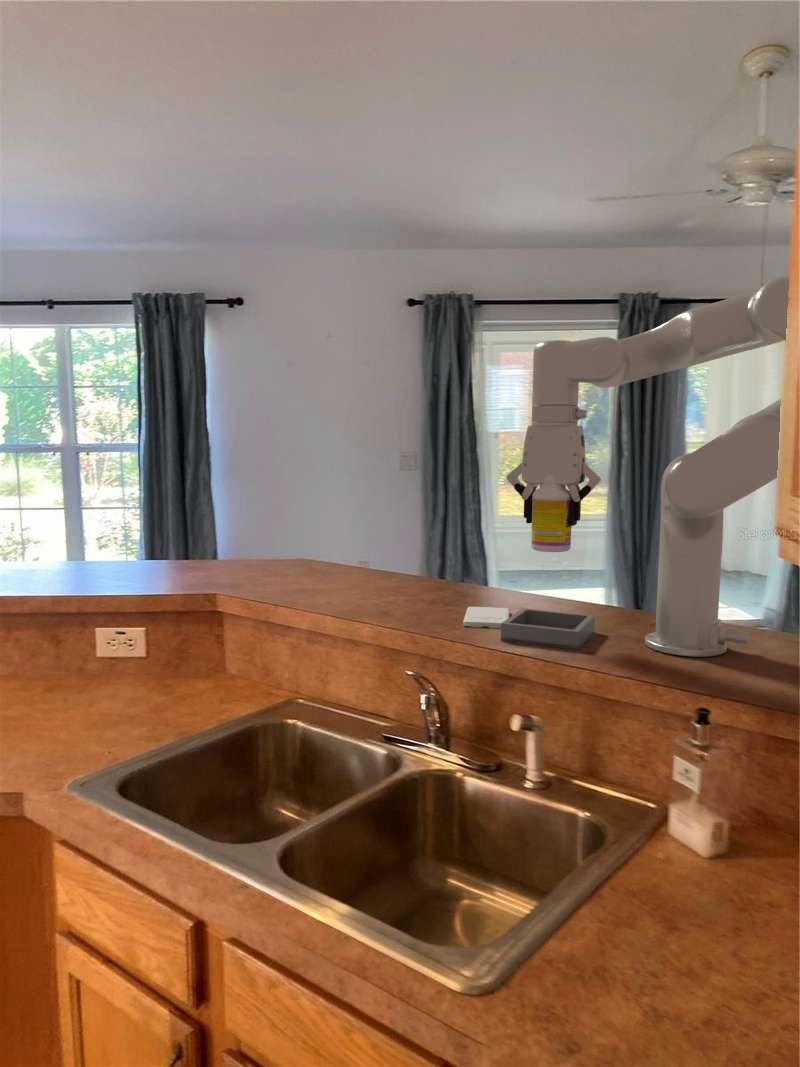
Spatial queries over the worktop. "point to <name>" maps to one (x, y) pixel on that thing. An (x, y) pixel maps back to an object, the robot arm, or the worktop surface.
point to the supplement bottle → (551, 517)
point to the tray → (548, 628)
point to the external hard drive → (485, 617)
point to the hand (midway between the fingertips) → (551, 522)
